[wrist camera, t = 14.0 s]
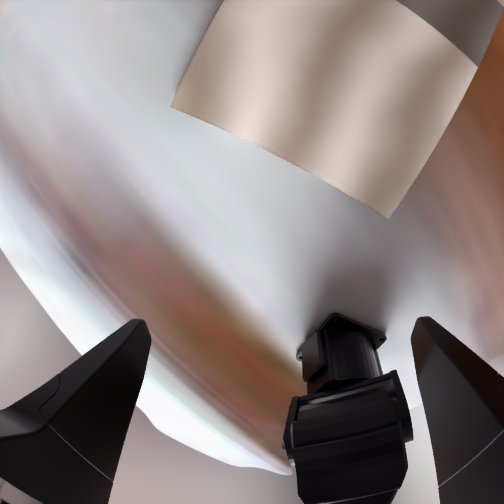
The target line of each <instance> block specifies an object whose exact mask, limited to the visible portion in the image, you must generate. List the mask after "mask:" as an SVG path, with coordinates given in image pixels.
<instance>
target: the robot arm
mask: <svg viewBox="0 0 504 504" xmlns="http://www.w3.org/2000/svg"><path fill="white" fill-rule="evenodd" d="M334 318H337V319H334ZM380 338H381V339H380ZM386 339H387V338H386V335H385V334H384V333H382V332H380V331H378V330H375V329H373V328H371V327H368V326H366V325H364V324H361V323H359V322H357V321H355V320H352V319H350V318H348V317H345V316H343V315H341V314H339V313H333V314H331V315H330V316H329V317H328V319H327V320H326V321H325V322H324V323H323V324H322V326H321V327H320V328H319V329H318V330H316V331H315V332H314V333H313V334H312V335H311V337H310V338H309V339H308V340H307V341H306V342H305V343H304V344H303V345H302V348H301V349H300V350H299V351H298V353H297V354H296V359H297V360H298V361H301V362H302V370H303V381H304V382H306V383H307V395H304V396H300V397H299V396H295V397H292V401H291V405H290V407H289V412H288V417H287V422H286V427H285V431H284V436H283V440H284V441H283V443H282V447H283V449H284V450H285V451H286V452H287V456H288V459H289V461H290V463H291V464H292V466H294V467H296V474H297V485H298V486H297V487H298V495H299V497H300V498H301V500H302V501H303V503H304V504H391V502H392V501H393V499H394V496H395V495H396V493H397V491H398V489H400V487H401V485H402V483H403V480H404V478H405V475H406V472H407V469H408V461H407V455H406V448H405V443H406V442H409V441H412V440H413V428H412V422H411V417H410V412H409V408H408V404H407V401H406V398H405V394H404V391H403V388H402V385H401V382H400V379H399V376H398V374H397V371H396V370H393V371H390V373H387V374H384V375H383V372H382V368H381V365H380V361H379V357H378V353H377V349H378V348H379V347H380V346H381V345H382V344H383V343H384V342H385V341H386ZM411 345H412V350H413V356H414V362H415V369H416V375H417V381H418V385H419V389H420V393H421V397H422V401H423V406H424V409H425V414H426V419H427V424H428V428H429V433H430V438H431V444H432V449H433V455H434V460H435V467H436V473H437V480H438V486H439V488H438V489H439V497H440V504H504V377H503V376H501V375H500V374H498V372H497V371H496V370H494V369H493V368H492V367H491V366H490V365H489V364H487V363H486V362H485V361H484V360H483V359H482V358H480V357H479V356H478V355H477V354H476V353H474V352H473V351H472V350H471V349H469V348H468V347H467V346H466V345H465V344H463V343H462V342H461V341H460V340H458V339H457V338H456V337H455V336H454V335H452V334H451V333H450V332H449V331H447V330H446V329H445V328H444V327H442V326H441V325H440V324H438V323H437V322H436V321H435V320H433V319H432V318H431V317H429V316H425V317H419V318H418V319H417V320H416V323H415V326H414V329H413V332H412V335H411ZM150 346H151V335H150V333H149V330H148V327H147V325H146V322H145V321H144V320H143V319H132V320H130V321H129V322H127V323H126V324H125V325H123V326H122V327H121V328H119V329H118V330H116V331H115V332H114V333H112V334H111V335H110V336H108V337H107V338H106V339H104V340H103V341H101V342H100V343H99V344H97V345H96V346H95V347H93V348H92V349H91V350H89V351H88V352H87V353H85V354H84V355H83V356H81V357H80V358H79V359H78V360H76V361H75V362H73V363H72V364H71V365H69V366H68V367H67V368H65V369H64V370H63V371H61V373H59V374H57V375H56V376H55V377H53V378H52V379H50V380H49V381H48V382H46V383H45V384H43V385H42V386H41V387H39V388H38V389H36V390H34V391H33V392H32V393H30V394H28V395H27V396H25V397H23V398H22V399H20V400H19V401H17V402H15V403H14V404H12V405H11V406H9V407H7V408H6V409H3V410H0V504H108V502H109V498H110V493H111V489H112V486H113V481H114V477H115V473H116V470H117V466H118V462H119V459H120V455H121V451H122V448H123V445H124V441H125V438H126V434H127V431H128V427H129V424H130V421H131V417H132V414H133V411H134V408H135V405H136V401H137V398H138V395H139V392H140V389H141V386H142V383H143V379H144V375H145V370H146V365H147V360H148V356H149V351H150Z"/></svg>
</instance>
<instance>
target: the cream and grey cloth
mask: <svg viewBox="0 0 504 504" xmlns="http://www.w3.org/2000/svg"><path fill="white" fill-rule="evenodd" d="M503 8H504V0H224V1H223V3H222V5H221V6H220V8H219V10H218V12H217V13H216V15H215V17H214V19H213V20H212V22H211V24H210V26H209V28H208V30H207V31H206V33H205V35H204V37H203V39H202V41H201V43H200V45H199V47H198V49H197V51H196V53H195V55H194V57H193V59H192V61H191V63H190V65H189V67H188V69H187V71H186V73H185V75H184V78H183V80H182V82H181V84H180V86H179V89H178V91H177V93H176V95H175V98H174V100H173V102H172V105H171V108H174V109H176V110H179V111H181V112H184V113H186V114H189V115H191V116H193V117H196V118H198V119H200V120H203V121H205V122H207V123H209V124H212V125H214V126H216V127H218V128H221V129H223V130H225V131H227V132H229V133H232V134H234V135H236V136H238V137H240V138H242V139H244V140H246V141H249V142H251V143H253V144H255V145H257V146H259V147H261V148H263V149H265V150H267V151H269V152H271V153H273V154H275V155H277V156H279V157H281V158H283V159H285V160H286V161H288V162H290V163H292V164H294V165H296V166H298V167H300V168H302V169H303V170H305V171H307V172H309V173H311V174H313V175H314V176H316V177H318V178H320V179H322V180H323V181H325V182H327V183H329V184H331V185H332V186H334V187H336V188H338V189H339V190H341V191H343V192H344V193H346V194H348V195H349V196H351V197H353V198H355V199H356V200H358V201H360V202H361V203H363V204H364V205H366V206H368V207H369V208H371V209H373V210H374V211H376V212H377V213H379V214H381V215H382V216H384V217H385V218H387V219H388V220H389V218H390V217H391V215H392V214H393V212H394V211H395V209H396V208H397V206H398V205H399V204H400V202H401V201H402V199H403V198H404V196H405V194H406V193H407V191H408V190H409V188H410V187H411V185H412V184H413V182H414V181H415V179H416V177H417V176H418V174H419V173H420V171H421V170H422V168H423V166H424V165H425V163H426V161H427V160H428V158H429V157H430V155H431V153H432V152H433V150H434V148H435V147H436V145H437V143H438V141H439V140H440V138H441V136H442V135H443V133H444V131H445V129H446V128H447V126H448V124H449V122H450V120H451V119H452V117H453V115H454V113H455V111H456V109H457V108H458V106H459V104H460V102H461V100H462V98H463V96H464V94H465V92H466V90H467V89H468V87H469V85H470V83H471V81H472V79H473V77H474V74H475V72H476V70H477V68H478V67H479V65H480V63H481V61H482V58H483V56H484V54H485V52H486V50H487V47H488V45H489V43H490V41H491V38H492V36H493V33H494V31H495V29H496V26H497V24H498V21H499V19H500V16H501V14H502V11H503Z"/></svg>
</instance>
